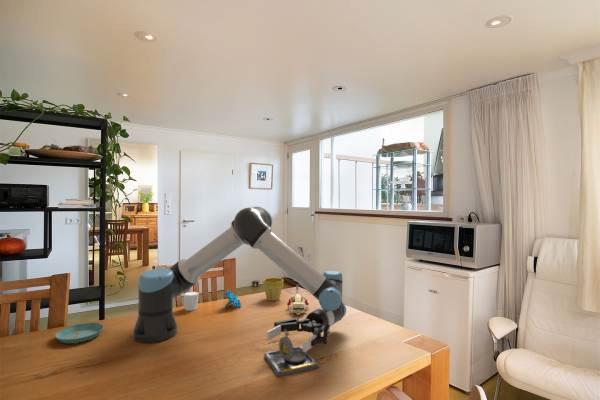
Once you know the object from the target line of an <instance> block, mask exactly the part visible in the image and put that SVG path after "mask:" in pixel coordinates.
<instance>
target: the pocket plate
mask: <svg viewBox="0 0 600 400" xmlns="http://www.w3.org/2000/svg"><path fill="white" fill-rule="evenodd" d="M293 350H294V351H301V352H303V346H301V345H299V346H293ZM286 353H287V352H286ZM303 353H305V355H306V358H305V360H303V361H301V362H289V361H287V360H286V359H284V358H283V357H282V355H281V353H280V349H277V350H272V351H267V352H265V353H263V357H264V359H265V360H266V362H267V364H268V365H269V367H270V368H271V369H272V370H273V372H274V373H275V375H276V377H277V378H279V377H283V376H284V377H285V376H288V375H293V374H297V373H302V372H306V371H311V370H314V369H318V368H319V363H318V362H317V361H316V360H315V359H314V358H313V357H312V356H311V355H310V354H309V353H308V351H306V352H303Z"/></svg>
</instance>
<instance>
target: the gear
mask: <svg viewBox="0 0 600 400" xmlns="http://www.w3.org/2000/svg"><path fill="white" fill-rule="evenodd" d="M224 295H225V298H226V299H228V302H226V304H225V305H224V306H225V308H226V307H228V306H229V305H231V304H232V306H235V308H241V307H242V303H241V299H239V298H238V295H237V294H236V295H235V293H234V292H232V291H231V290H228V289H227V290H225V293H224Z"/></svg>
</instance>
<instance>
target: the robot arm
mask: <svg viewBox="0 0 600 400" xmlns="http://www.w3.org/2000/svg"><path fill="white" fill-rule="evenodd" d="M272 226H273V218H272V215H271V213H270V212H269V211H268V210H267V209H266V208H264V207H262V206H254V207H245V208H243V209H240V210H238V212H237V213H236V214H235V216H234V219H233V220H232V221H231V223H230V227H228V229H227V230H225V231H223V232H222V233H221V234H219V235H218V236H217V237H215V238H214V239H213V240H211V241H210V242H209V243H207V244H206V245H204V246H203V247H202V248H200V249H199V250H198V251H197V252H194V254H193V255H191V256H190V257H189V258H187V259H185V258H182V259H180V260H178V261H177V262H175V263H174V264H173V265H172V266H170V267H169V268H167V267H166V268H165V267H160V268H158V267H157V268H154V269H149V270H146V271H144V272H143V273H141V274H140V275H139V278H138V285H137V288H138V289H137V290H138V303H137V304H138V305H137V306H138V307H137V309H138V311H137V312H138V313H137V315H138V316H137V319H136V321H135V323H134V327H133V329H132V340H133V341H135V342H138V343H144V344H148V343H149V344H151V343H158V342H162V341H165V340H170V339H171V338H173V337H174V336H176V334H177V333H178V324H177V320H176V318H175V316H174V311H173V300H174V299H175V298H177V297H179V296H180V295H182V294H184V293H187V292H189V291H190V290H191V288H192V287H193V286H194V285H196V284H197V283H198V282H199V281H200V277H201V276H202V275H204V274H205V273H206V272H207V271H209V270H210V269H212V268H213V267H214V266H216V265H217V264H218V263H219V262H221V261H223V260H224V259H225V258H226V257H228V256H229V255H231V254H232V253H234V251H236V250H237V249H239V248H240V247H242V246H243V245H249V246H250V247H251V248H252V249H254V250H257V249H258V250H259V251H260V252H262V254H264V255H265V256H266V257H267V258H269V259H270V260H271V261H272V262H273V263H274V264H275V265H276V266H277V267H279V268H280V269H281V270H283V272H285V274H287V275H289V276H290V277H291V278H292V279H293V280H294V281H295V282H296V283H297V284H298V285H300V286H301V287H303V288H304V289H305V290H306V291H307V292H308V293H310V295H312V296H313V297H314V298H315V299H316V300H318V303H319V305H320V307H318V308H316V309H315V310H313V311H312V312H310V313H308V314H307V315H306V318H304V319H300V317H299V316H296V317H294V318H289V319H283V320H280V321H278V320H277V321H275V322H273V323H274V324H273V325H274V326H273V328H271V329H269V330H267V331H266V341H271V340H273V339H274V338H276V337H278V336H280V335H281V334H282V333H284V331H285V333H286V332H287V331H288V332H296V331H297V332H300V333H301V332H305V333H311V334H312V336H310V337H309V338H308V339H306V340H305V341H303V342H302V348H303V352H308V351H309V350H310V349H312V348H313V347H316V346H317V345H321V344H323V346H325V345H328V335H329V334H330V333H331V331H330V328H331V326H333V325H335V324H337V323H338V322H340V321H341V320H342V319H343V318H344V317H345V316H346V314H347V307H346V305H345V303H344V301H343V274H342V272H340V271H338V270H325V271H324V272H323V273H321V272H320V271H318V269H316V268H315V267H314V266H312V264H310V263H309V262H308V261H307V260H306V259H304V258H303V257H302V256H301V255H300V254H298V253H297V252H296V251H295V250H293V248H291V247H290V246H289V245H288V244H286V243H285V242H284V241H283V240H282V239H280V238H279V237H278V236H277V235H276V234H274V233H273V232H272ZM284 329H286V330H287V331H286V330H284ZM322 333H323V335H322Z"/></svg>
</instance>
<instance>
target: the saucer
mask: <svg viewBox="0 0 600 400" xmlns="http://www.w3.org/2000/svg"><path fill="white" fill-rule="evenodd" d="M104 328H105V325H104V324H102V323H100V322H99V323H98V322H84V323H79V324H78V323H77V324H73V325H70V326H67V327H65V328H63V329H60V330H58V331H57V332H56V333H55V335H54V337H55V338H56V339H57V341H60V342H61V343H63V344H67V343H74V344H79V342H81V343H84V341H85V342H88V341H90V339H91V340H93V339H94V337H95V338H96V337H98V336H99V335H100V334H101V333H102V331H103V330H104ZM78 331H79V334H78V335H76V334H74V332H78ZM76 336H77V338H73V337H76ZM87 340H88V341H87Z"/></svg>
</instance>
